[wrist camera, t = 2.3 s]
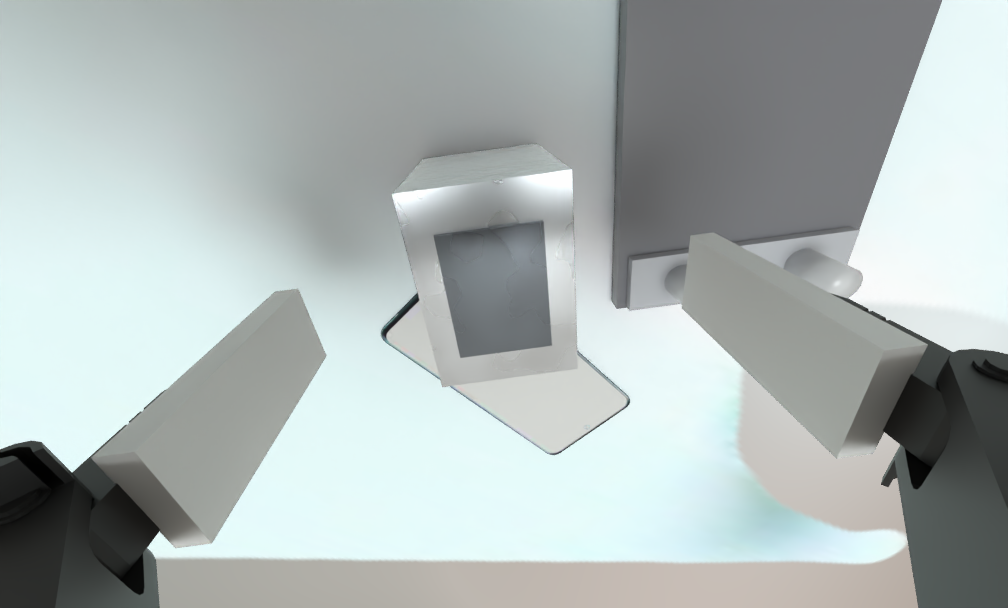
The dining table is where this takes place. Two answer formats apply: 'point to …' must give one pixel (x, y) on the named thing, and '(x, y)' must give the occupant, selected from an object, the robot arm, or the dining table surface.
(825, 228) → the grey knobbed plate
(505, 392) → the smartphone
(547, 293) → the block
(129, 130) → the dining table surface
